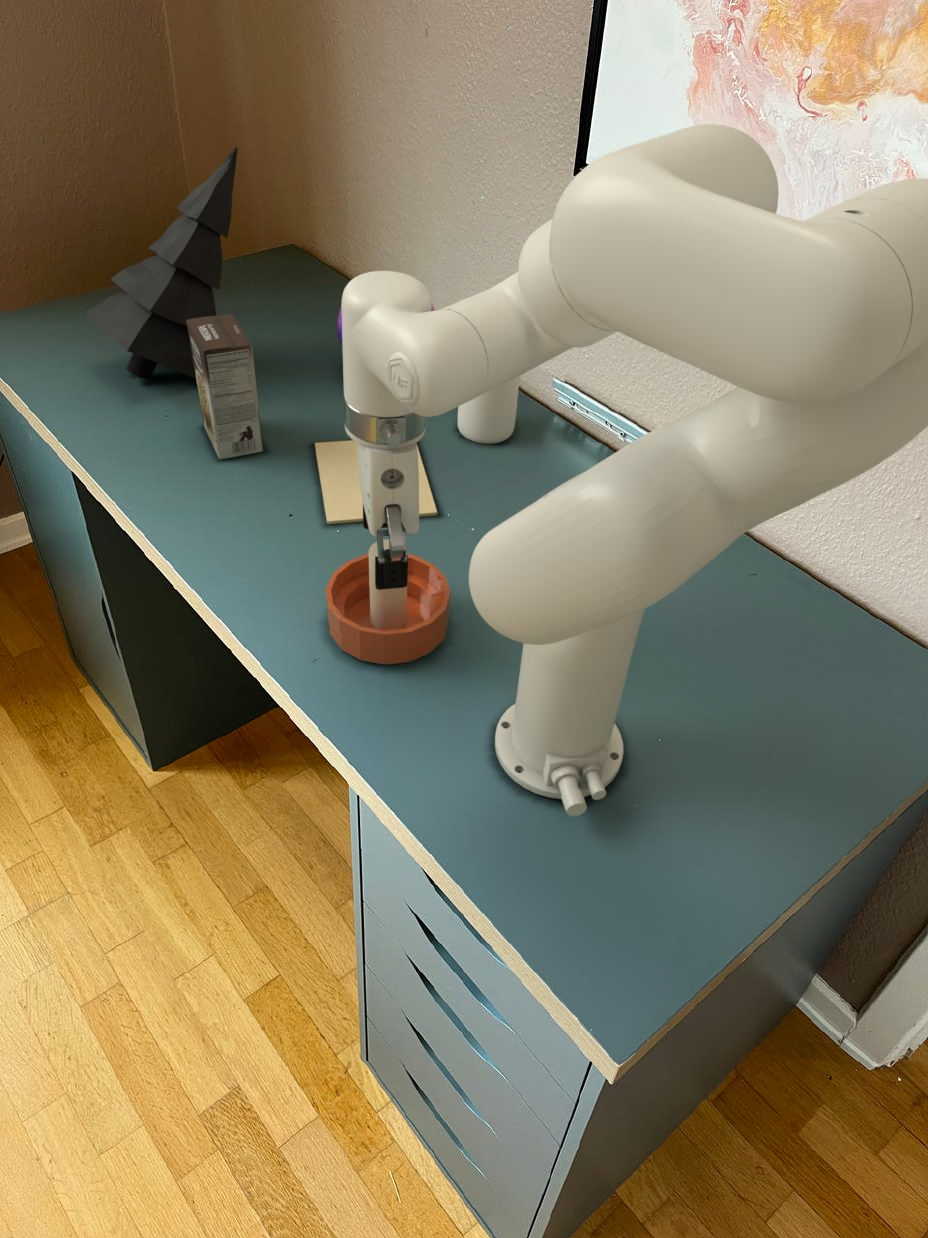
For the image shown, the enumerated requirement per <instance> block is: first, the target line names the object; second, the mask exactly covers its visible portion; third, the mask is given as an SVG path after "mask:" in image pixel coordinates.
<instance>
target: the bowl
mask: <svg viewBox="0 0 928 1238" xmlns="http://www.w3.org/2000/svg"><path fill="white" fill-rule="evenodd" d="M407 554H408V580H407V622H406V625H405V627H404V628H403V629H396V630H387V631H384V630H379V629H374V628H373V627H372V625H371V621H370V586H369V553H366V554H363V555H361V556H358V557H355V558H353V559H350V560H348V561H346V562H345V563H344V564H342V566H340V567H339V568H338V569H336V571H334V572H333V573H332V574H331V577H330V579H329V581H328V583H327V585H326V588H325V600H326V613H327V616H326V617H327V623H328V624H327V625H328V633H329V636H330V637H331V638H332V639H333V641H334V642H335V643H336V645H337V646H338V647H339V649H340V650H342V651H343V652H344V653H346V654H347V655H351V656H352V657H354V658H356V659H358V660H360V661H361V662H362V661H363V662H369V663H374V664H380V665H394V664H401V663H411V662H413V661H415V660H418V659H419V658H421V657H424V656H426V655H429V654H431V653H432V652H433V651H434V649H436V648H437V647H438V646H439V645H440V644H441V643H442V642H443V641H444V639H446V638H445V637H446V634H447V632H448V628H449V624H450V611H451V610H450V609H451V590H450V586H449V583H448V579H447V577H446V575H444V574H443V572H441V570H439V568H438V567H436V565H435V564H434V563H432V562H429V561H427V560H426V559H424V558H421V557H419V556H417V555H415V554H411V553H407Z"/></svg>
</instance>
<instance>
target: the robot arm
mask: <svg viewBox="0 0 928 1238" xmlns="http://www.w3.org/2000/svg"><path fill="white" fill-rule="evenodd" d="M779 194H780V193H779V180H778V176H777V172H776V169H775V167H774V165H773V162H772V161H771V158H770V156H769V154H768V153H767V152H766V150H765V149H764V148H763V146H762V145H760V144H759V142H758V141H757V140H756V139H755V138H754V137H752V136H750V135H749V134H748V133H746V132H744V131H742V130H739V129H737V128H735V127H732V126H727V125H724V124H715V123H714V124H713V123H712V124H708V123H707V124H698V125H692V126H688V127H684V128H681V129H678V130H675V131H672V132H669V133H665V134H662V135H659V136H657V137H654V138H650V139H648V140H644V141H641V142H637V143H634V144H632V145H628V146H626V147H622V148H620V149H617V150H614V151H611V152H609V153H605V154H603V155H602V156H601V157H598V158H597V159H595V160H593V161H592V162H590V163H589V164H587V166H585V167H584V168H582V170H580V172H578V173H577V174H576V175H575V176H574V177H573V178H572V180H571V182H569V184H568V185H567V186H566V188H565V189H564V191H563V193H562V194H561V196H560V197H559V200H558V201H557V204H556V207H555V210H554V213H553V216H552V218H551V219H549V220H548V221H546V222H545V223H543V224H542V225H540V226H539V227H538V228H536V229H534V231H533V232H532V233H531V234H530V235H529V236H528V237H527V238H526V241H525V242H524V244H523V246H522V248H521V251H520V253H519V258H518V262H517V263H518V264H517V271H516V272H515V273H513V274H511V276H509V277H507V278H506V279H504V280H502V281H501V282H499V283H497V284H496V285H493V286H491V288H488V289H486V290H484V291H481V292H479V293H477V294H476V293H475V294H474V295H471V296H469V297H465V298H464V299H463V298H462V299H461V300H460V301H456V302H454V303H452V304H450V305H447V306H445V307H442V308H440V309H437V310H436V309H435V311H431V303H432V299H431V295H430V293H429V290H428V289H427V287H426V286H425V284H424V283H423V282H422V281H420V280H419V279H417V278H416V277H414V276H412V275H410V274H407V273H403V272H400V271H392V270H374V271H368V272H364V273H362V274H359V275H357V276H355V277H353V278H352V279H350V280H349V282H348V283H347V284H346V286H345V287H344V289H343V291H342V296H341V306H340V309H342V346H343V348H342V366H343V367H342V376H343V377H342V378H343V412H344V413H343V414H344V415H343V416H344V417H343V418H344V419H343V420H344V430H345V433H346V435H347V436H348V437H349V438H350V439H351V440H354V441H355V442H357V455H358V472H359V482H360V489H361V494H362V500H363V521H362V525H363V528H364V529H366V530H368V531H369V534H370V535H372V536H373V537H374V538H375V539H376V542H377V550H378V556H376V557H375V586H376V589H378V590H383V589H395V588H405V587H406V586H407V580H408V554H409V553H408V549H407V548H408V547H407V536H406V534H407V535H408V536H410V535H413V536H415V535H417V534H418V533H419V531H420V517H419V470H418V452H417V446H418V443H417V442H419V441H420V440H421V439H423V437H424V436H425V434H426V431H427V430H426V429H427V418H433V417H438V416H441V415H444V414H446V413H448V412H450V411H453V410H454V409H457V408H458V406H460V405H462V404H464V403H466V402H468V401H470V400H472V399H474V398H476V397H478V396H479V395H481V394H483V393H485V392H487V391H489V390H491V389H493V388H495V387H497V386H499V385H501V384H503V383H506V382H508V381H510V380H512V379H514V378H516V377H518V376H521V375H524V374H526V373H528V372H529V371H532V370H533V369H535V368H537V367H540V365H542V364H544V363H547V362H548V361H550V360H553V359H554V358H556V357H558V356H559V355H561V354H563V353H565V352H567V351H569V350H571V349H573V348H587V347H590V346H593V345H595V344H596V343H599V342H600V341H603V340H605V339H606V338H608V337H610V336H612V335H613V334H616V333H621V334H623V335H625V336H627V337H629V338H631V339H633V340H635V341H636V342H639V343H642V344H643V345H645V346H647V347H649V348H652V349H654V350H657V351H658V352H661V353H663V354H665V355H668V356H670V357H672V358H675V359H676V360H679V361H682V362H683V363H685V364H688V365H691V366H692V367H693V368H697V369H699V370H701V371H703V372H705V373H707V374H709V375H712V376H714V377H716V378H718V379H720V380H723V381H724V382H727V383H729V384H731V385H734V386H735V387H734V388H733V389H731V390H729V391H727V392H725V393H724V394H722V395H721V396H719V397H717V398H716V399H714V400H713V401H710V402H709V403H707V404H705V405H703V406H702V407H700V408H698V409H697V410H694V411H693V412H691V413H689V414H687V415H684V416H683V417H680V418H678V419H676V420H674V421H672V422H669V423H667V424H663V425H662V426H660V427H658V428H655V429H653V430H651V431H649V432H647V433H645V434H643V435H642V436H641V437H639V438H636V439H635V440H634V441H631V442H630V443H628V444H627V445H625V446H624V447H622V448H621V449H619V450H617V451H616V452H614V453H613V454H611V455H610V456H607V457H606V458H605V459H603V460H601V461H600V462H598V463H597V464H595V465H593V466H591V467H590V468H588V469H587V470H586V471H584V472H581V473H579V474H577V475H575V476H573V477H572V478H570V479H568V480H566V481H565V482H563V483H562V484H560V485H558V486H556V487H555V488H553V489H552V490H551V491H549V492H547V493H546V494H544V495H542V496H541V497H539V498H538V499H537V500H536V501H534V502H532V503H531V504H529V505H528V506H526V507H525V508H523V509H521V510H520V511H518V512H517V513H515V514H513V515H512V516H510V517H509V518H507V519H505V520H504V521H503V522H500V523H499V524H498V525H496V526H494V527H493V528H491V529H490V530H489V531H488V532H486V534H484V535H483V537H482V538H481V539H480V540H479V542H478V543H477V545H476V546H475V547H474V550H473V552H472V555H471V558H470V562H469V566H468V567H469V568H468V586H469V587H468V588H469V592H470V597H471V599H472V602H473V604H474V606H475V609H476V610H477V612H478V614H479V615H480V617H482V619H483V620H484V621H485V622H486V624H488V626H490V627H491V629H494V631H495V632H497V633H498V634H500V635H502V636H503V637H505V638H507V639H509V640H511V641H515V642H517V643H521V644H522V653H521V659H520V667H519V675H518V683H517V689H516V697H515V702H514V703H513V704H512V705H511V706H509V708H507V709H506V710H505V712H504V713H503V714H502V716H501V717H500V719H499V721H498V722H497V725H496V730H495V736H494V748H495V755H496V757H497V759H498V763H499V765H500V766H501V767H502V769H503V770H504V772H505V773H506V774H507V775H508V776H509V777H510V778H511V779H512V781H514V782H515V783H516V784H518V785H519V786H521V787H522V788H523V789H525V790H528V791H530V792H531V793H533V794H536V795H539V796H542V797H546V798H550V799H557V800H561V801H562V804H563V808H564V811H565V813H566V814H567V816H570V817H577V816H580V815H582V814H584V813H585V812H586V811H587V810H588V807H587V803H586V800H585V797H588V796H591V799H592V800H595V801H598V800H602V799H603V798H605V797H606V795H607V790H606V789H605V788H606V787H607V786H609V784H611V782H613V780H614V779H615V778H616V776H617V774H618V773H619V771H620V768H621V765H622V762H623V758H624V752H625V751H624V741H623V737H622V734H621V731H620V729H619V728H618V726H617V724H616V719H617V715H618V712H619V707H620V703H621V700H622V695H623V691H624V688H625V683H626V680H627V675H628V672H629V668H630V663H631V661H632V656H633V652H634V649H635V647H636V646H635V645H636V642H637V637H638V634H639V630H640V627H641V623H642V620H643V616H644V614H645V610H646V609H647V608H648V607H650V606H652V605H654V604H657V603H658V602H659V601H661V600H662V599H664V598H665V597H667V596H669V595H670V594H671V593H673V592H674V591H676V590H677V589H678V588H679V587H681V586H682V585H683V584H685V582H687V581H688V580H689V579H691V578H692V577H693V576H695V574H697V573H698V572H699V571H700V570H702V569H703V568H704V567H706V566H707V565H708V564H709V563H710V562H712V561H713V560H715V558H716V557H718V556H719V555H720V554H722V552H724V551H725V550H727V548H729V547H730V546H731V545H732V544H733V543H734V542H735V541H736V540H738V539H739V538H740V537H742V536H743V535H745V533H747V532H749V531H750V530H751V529H753V528H755V527H758V525H761V524H762V523H764V522H766V521H768V520H771V519H774V518H775V517H777V516H779V515H781V514H784V513H786V512H788V511H791V510H792V509H794V508H796V507H800V506H801V505H803V504H806V503H807V502H809V501H811V500H813V499H815V498H816V497H819V496H822V495H823V494H825V493H827V492H829V491H831V490H834V489H835V488H838V487H839V486H842V485H844V484H845V483H848V482H849V481H852V480H853V479H855V478H857V477H859V476H861V475H862V474H864V473H866V472H868V471H870V470H872V469H873V468H875V467H876V466H878V465H879V464H881V463H882V462H884V461H885V460H887V459H888V458H890V457H892V456H893V455H894V454H895V453H897V452H898V451H899V450H901V449H903V448H904V447H905V446H906V445H907V444H909V443H910V442H911V441H913V440H914V439H915V438H916V437H917V436H918V435H920V434H921V433H922V432H924V430H925V429H927V427H928V177H924V178H908V179H902V180H898V181H893V182H887V183H885V184H880V185H878V186H876V187H874V188H871V189H869V190H867V191H864V192H862V193H859V194H857V195H855V196H852V197H851V198H848V199H846V200H844V201H842V202H840V203H838V204H837V203H836V205H833V206H831V207H829V208H827V209H825V210H824V211H822V212H818V213H817V214H815V215H813V216H811V217H808V218H806V219H805V220H803V221H802V220H798V219H795V218H791V217H787V216H785V215H782V214H778V213H777V211H778V206H779ZM342 346H341V347H342ZM384 537H388V539H389V549H386V550H385V551H384V544H383V540H384Z"/></svg>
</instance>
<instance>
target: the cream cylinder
mask: <svg viewBox="0 0 928 1238" xmlns="http://www.w3.org/2000/svg"><path fill="white" fill-rule="evenodd" d="M383 544H384V551H385V550H386V549H389V538H388V539H383ZM368 554H369V586H370V621H371V625H372V627H373V628H374V629H379V630H384V631H387V630H396V629H403V628H404V627H405V625H406V622H407V586H406V587H405V588H395V589H383V590H378V589H376V586H375V557H376V556H378V550H377V541H375V542H374V543H372V544H371V545H370V547H369V549H368Z"/></svg>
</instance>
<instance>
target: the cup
mask: <svg viewBox="0 0 928 1238" xmlns="http://www.w3.org/2000/svg"><path fill="white" fill-rule="evenodd" d="M520 376H521V375H520ZM520 376H518V377H516V378H514V379H512V380H510V381H508V382H506V383H503V384H501V385H499V386H497V387H495V388H493V389H491V390H489V391H487V392H485V393H483V394H481V395H479V396H478V397H476V398H474V399H472V400H470V401H468V402H466V403H464V404H462V405H460V406H458V407H457V429H458V431H459V433H460V434H461V435H462V436H463V437H464V438H465V439H467V440H469V441H471V442H474V443H478V444H485V445H486V444H487V445H493V444H498V443H501V442H504V441H506V440H507V439H509V438H510V437H511V436H512V435H513V433H514V430H515V426H516V417H517V407H518V397H519V389H520V388H519V387H520V378H521V377H520Z"/></svg>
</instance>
